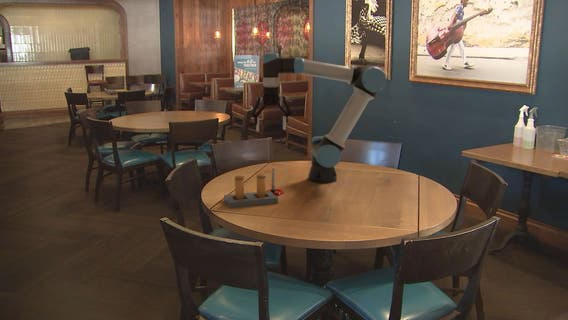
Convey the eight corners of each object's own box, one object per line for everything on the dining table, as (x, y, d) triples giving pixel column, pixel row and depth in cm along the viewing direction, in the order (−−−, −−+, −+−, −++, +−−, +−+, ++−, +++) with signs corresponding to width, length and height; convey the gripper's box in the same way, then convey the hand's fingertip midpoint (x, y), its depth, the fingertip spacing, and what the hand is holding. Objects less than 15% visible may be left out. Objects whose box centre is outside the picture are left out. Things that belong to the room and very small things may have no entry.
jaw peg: (265, 199, 224) (265, 174, 222) (266, 202, 220) (265, 176, 218) (256, 199, 224) (256, 174, 221) (257, 202, 220) (256, 176, 217)
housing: (270, 195, 230) (270, 190, 229) (278, 203, 219) (278, 197, 218) (224, 200, 223) (223, 195, 222) (229, 208, 212) (229, 202, 211)
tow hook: (269, 190, 240) (263, 194, 232) (270, 164, 238) (264, 168, 229) (286, 191, 238) (280, 196, 229) (286, 165, 236) (281, 169, 227)
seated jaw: (243, 201, 222) (242, 175, 219) (245, 203, 218) (244, 177, 215) (234, 202, 220) (233, 176, 218) (236, 204, 217) (235, 178, 214)
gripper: (292, 85, 241) (292, 127, 245) (243, 86, 233) (244, 130, 238) (298, 86, 234) (297, 130, 238) (247, 87, 226) (248, 132, 231)
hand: (271, 130), depth 238 cm, fingers open, 13 cm apart
